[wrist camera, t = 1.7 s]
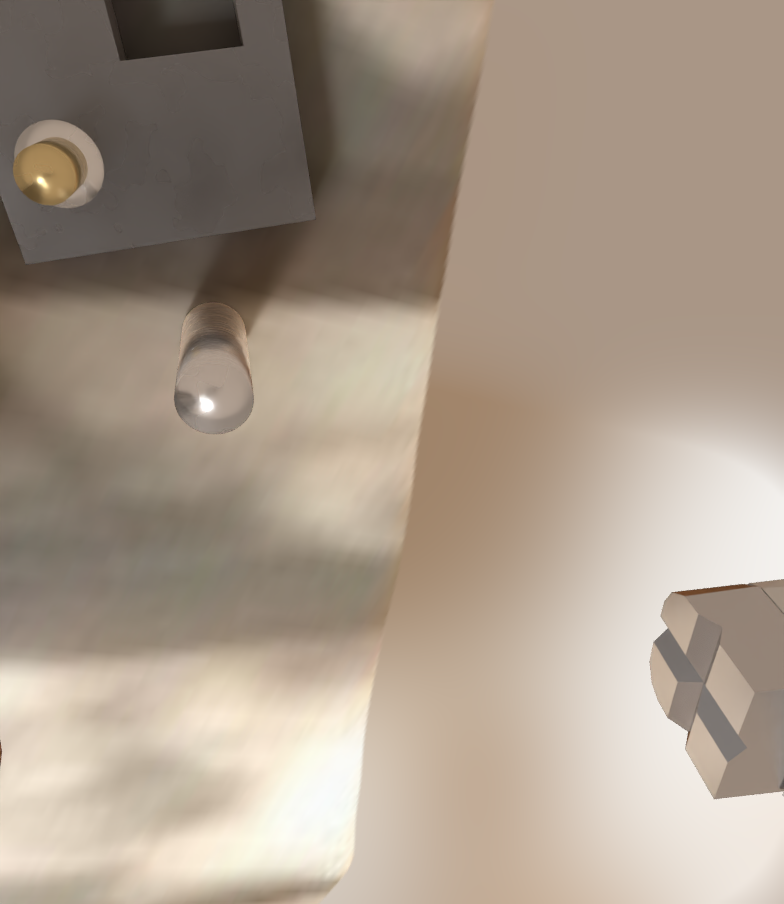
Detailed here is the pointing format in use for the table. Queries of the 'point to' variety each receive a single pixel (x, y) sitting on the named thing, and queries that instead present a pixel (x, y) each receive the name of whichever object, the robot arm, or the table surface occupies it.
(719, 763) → the robot arm
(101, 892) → the table surface
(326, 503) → the table surface
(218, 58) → the flange plate
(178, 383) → the steel peg
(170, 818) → the table surface
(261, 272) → the table surface
